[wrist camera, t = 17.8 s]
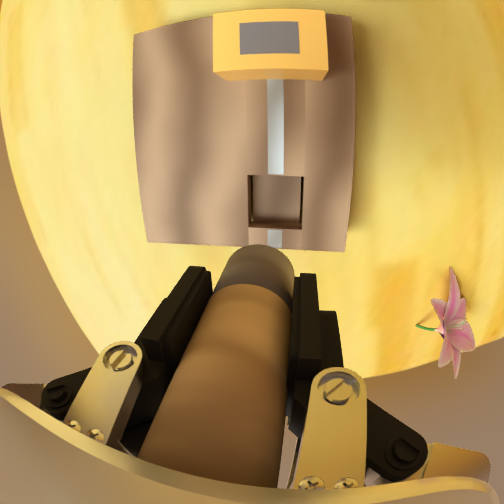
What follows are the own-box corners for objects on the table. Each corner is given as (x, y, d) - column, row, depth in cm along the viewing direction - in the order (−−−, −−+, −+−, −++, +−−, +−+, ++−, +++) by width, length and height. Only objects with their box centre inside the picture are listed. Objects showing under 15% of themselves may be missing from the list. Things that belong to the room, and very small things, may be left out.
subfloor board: (164, 227, 28) (147, 242, 25) (154, 43, 20) (133, 34, 16) (338, 234, 26) (344, 252, 22) (343, 31, 17) (351, 16, 13)
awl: (227, 301, 13) (157, 488, 5) (223, 242, 11) (109, 448, 3) (292, 306, 12) (271, 511, 4) (296, 246, 11) (279, 489, 3)
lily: (456, 330, 30) (502, 344, 21) (399, 376, 29) (442, 406, 20) (440, 256, 30) (493, 256, 20) (376, 299, 29) (428, 315, 19)
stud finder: (227, 81, 18) (212, 72, 14) (227, 31, 16) (212, 13, 12) (322, 80, 17) (328, 70, 13) (319, 29, 15) (324, 10, 11)
